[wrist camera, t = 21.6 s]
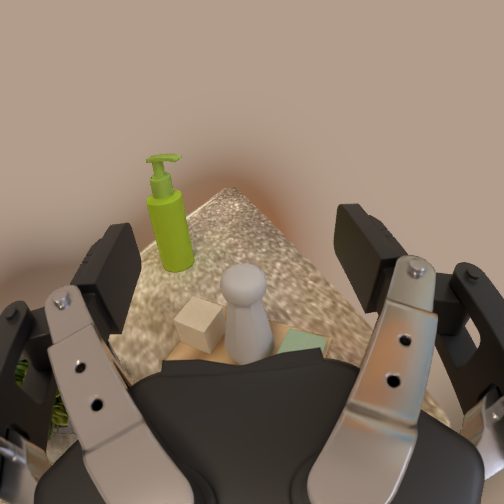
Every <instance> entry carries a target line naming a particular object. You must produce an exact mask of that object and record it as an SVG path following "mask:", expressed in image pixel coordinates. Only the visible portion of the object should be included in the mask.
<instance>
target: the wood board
mask: <svg viewBox="0 0 504 504" xmlns="http://www.w3.org/2000/svg"><path fill="white" fill-rule="evenodd" d="M211 303H214V302H211ZM214 304H217V303H214ZM217 305H219V306H222V307H223V310H224V316H225V322H226V316H227V307H226V306H223V305H220V304H217ZM268 321H269V324H270V328H271V331H272V334H273V337H274V349H273V351H272V352H271V354H270V355H269V357H270V356H273V355H276V354H277V352H278V350H279V348H280V346H281V344H282V342H283V340H284V338H285V336H286V334H287V332H288V330H289V328H293V329H296V330H300V331H303V332H307V333H311V334H314V335H318V336H321V337H325V338H327V343H326V347H325V351H324V355H323V358H326V355H327V352H328V349H329V346H330V343H331V340H332V338H330V337H326V336H322V335H319V334H315V333H312V332H308V331H304V330H301V329H297V328H294V327H290V326H287V325H284V324H280V323H277V322H273V321H270V320H268ZM224 342H225V333H224V335H223V336H222V338H221V339H220V340H219V342H218V343H217V345H216V346H215V348H214V349H213V351H212V352H211V353H210V354H208V353H206V352H203V351H201V350H199V349H196V348H194V347H192V346H189V345H187V344H185V343H183V342H181V341H180V342H179V343H178V344H177V346H176V347H175V348H174V349H173V351H172V352H171V353H170V355H169V356H168V357H167V358H166V360H195V359H202V360H207V361H213V362H220V363H226V364H233V365H239V364H238V363H237V362H236V361H234V360H233V359H232V358H230V357H229V355H228V353H227V351H226V349H225V346H224Z"/></svg>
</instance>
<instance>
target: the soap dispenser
mask: <svg viewBox="0 0 504 504" xmlns="http://www.w3.org/2000/svg"><path fill="white" fill-rule="evenodd" d="M181 157H182V156H181V155H177V154H160V155H154V156H151V157H150V158H148V159H146V162H147V163H152V165H153V171H154V175H153V176H152V177H151V178H150V183H151V188H152V193H153V194H152V195H151V196H150V197H149V198H147V201H146V202H147V206H148V210H149V214H150V219H151V222H152V226H153V230H154V234H155V238H156V242H157V246H158V249H159V253H160V256H161V260H162V263H163V267H164V268H165V269H166V270H167V271H170V272H180V271H184V270H186V269H188V268H189V267H190V266H192V264H193V263H194V256H193V251H192V246H191V241H190V236H189V231H188V225H187V220H186V215H185V209H184V204H183V198H182V193H181V192H180V191H179V190H173V186H172V181H171V175H170V174H169V173H167V172H165V171H164V166H163V161H170V162H176V161H178V160H179V159H180V158H181Z"/></svg>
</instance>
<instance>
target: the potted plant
mask: <svg viewBox="0 0 504 504" xmlns="http://www.w3.org/2000/svg"><path fill="white" fill-rule="evenodd" d="M28 365H29V362H28V361H27V360H26V359H25V358H24V356H23V355H22V354H21V356H20V359H19V362H18V364H17V367H16V370H15V380H16V383H17V385H18V386H19V387H20V388H22V385H23V381H24V378H25V375H26V372H27V369H28ZM52 432H55V433H75V431H74V428H73V426H72V424H71V421H70V419H69V416H68V414H67V411H66V409H65V406H64V403H63V400H62V398H61V395H60V392H59V389H57V393H56V398H55V402H54V407H53V412H52V417H51V422H50V428H49V434H48V440H50V438H51V436H52Z"/></svg>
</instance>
